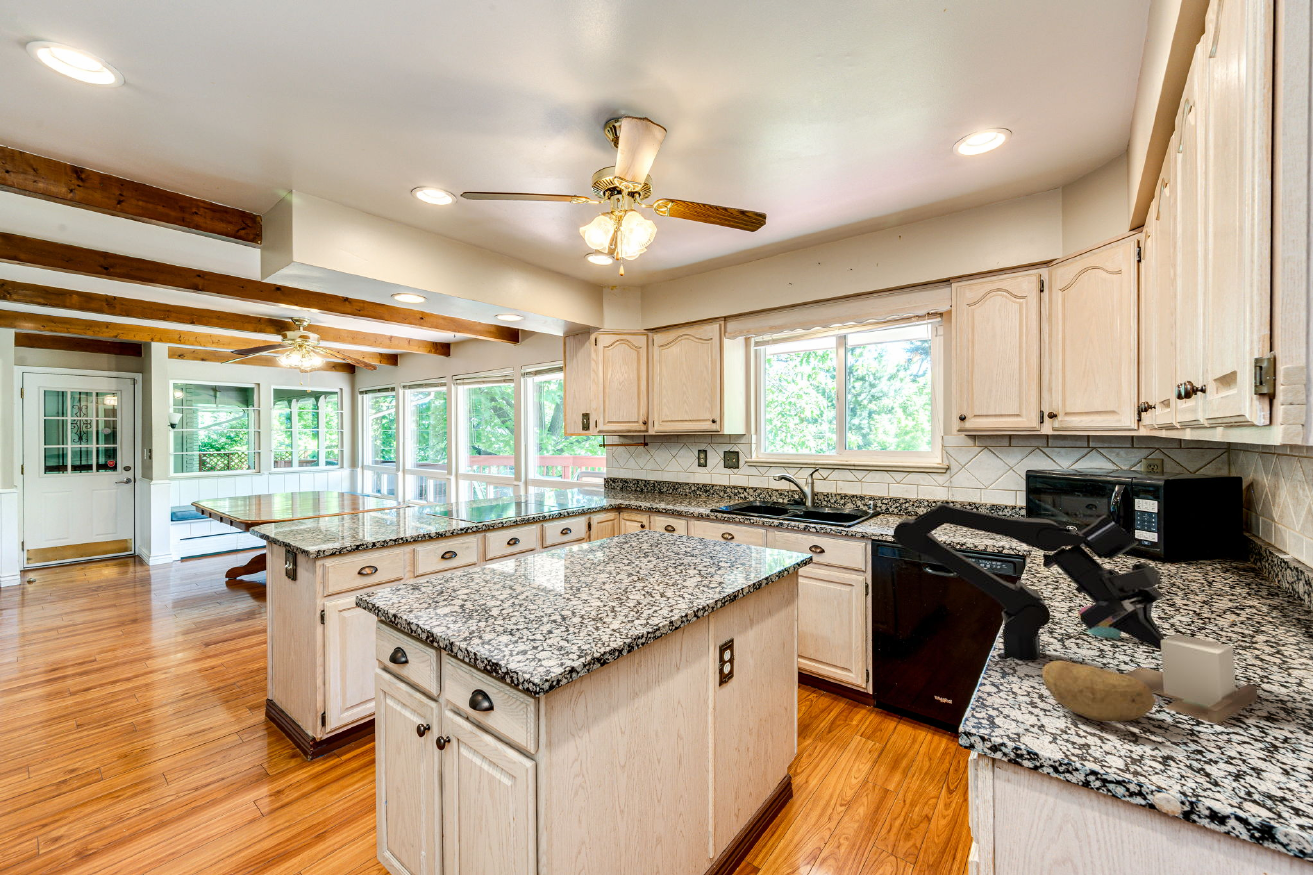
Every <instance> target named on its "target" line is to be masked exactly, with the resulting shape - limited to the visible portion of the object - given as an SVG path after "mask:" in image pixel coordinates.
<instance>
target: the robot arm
mask: <svg viewBox="0 0 1313 875" xmlns="http://www.w3.org/2000/svg"><path fill="white" fill-rule="evenodd" d="M947 524H948V525H953V526H958V527H961V528H966V529H971V530H972V529H973V530H976V531H980V532H985V533H989V534H993V535H994V534H995V535H999V536H1004V537H1008V538H1009V539H1013V540H1015V541H1018V542H1019V543H1022V544H1024V545H1027V546H1030V547H1032V548H1035V549H1037V550H1040V551H1043V552H1046V553H1043V554H1042V557H1043V561H1042V562H1043V563H1042V567H1044V568H1045V569H1047V570H1050V569H1051V568H1053V567H1055V566H1056V567H1057V568H1059V569H1060V570H1061V571H1062V572H1063V574H1065V575H1066V576H1067V577H1068V578H1069V579H1070V580H1071V581H1072V582H1073V583H1074V584H1075V585H1076V587H1075V588H1074V590H1075V592H1077V593H1078V594H1082V593H1084V594H1085V595H1086V596H1087V597H1088V598H1089V599H1090V600H1091V601H1092V602H1093V603H1094V604H1092V605H1093V606H1091V607H1090V608H1088V609H1087V610H1085V611H1084V612H1082V613H1081V614H1080V617H1081V620H1080V622H1081V623H1082V624H1083V625H1084V626H1085V627H1086V628H1088V629H1089V630H1091V629H1094V628H1097V627H1098V626H1099V624H1100V623H1102V622H1103V621H1105V620H1106V619H1108V618H1109V617H1112V618H1111V619H1112V620H1113V621H1114V622H1113V623H1111V624H1110V625H1108V627H1110V628H1114V629H1117V630H1119V631H1121V633H1124V634H1126V635H1128V636H1130V637H1133V638H1134V639H1137V640H1139V641H1140V642H1142V643H1145V644H1147V645H1149V646H1152V647H1154V648H1155V649H1158V650H1160V651H1161V640H1163V639H1165V638H1166V637H1164V635H1163V634H1162V632H1161V630H1160V628H1159V627H1158V626H1157V623H1156V622H1155V620H1154V619H1153V616H1152V611H1153V610H1152V608H1153V607H1154V603H1155V602H1157V601H1159V600H1160V599H1162V598H1163V597H1165V594H1164V593H1163V592H1161V591H1160V590H1159V589H1158V588H1157V587H1156V586H1158V585H1163V582H1162V581H1161V579H1160V577H1159V576H1160V574H1161V572H1160V570H1158V569H1155V567H1154V565H1152V566H1151V565H1149V564H1148V563H1146V562H1145V561H1144V562H1141V563H1137V564H1133V565H1131V570H1130V571H1128V572H1123V573H1119V572H1118V571H1117V570H1116V569H1112V568H1109V569H1107V568H1105V567H1104V566H1103V565H1102V564H1101V563H1100V562H1099V561H1097V560H1096V559H1095V558H1094V557H1093V556H1092V555H1091V554H1090V553H1088V552H1087V550H1086V549H1084V547H1086V548H1088V550H1090V551H1091V552H1092V554H1094V555H1095V556H1096V557H1097V558H1098V559H1100V560H1102V559H1103V558H1104V560H1107V559H1109V560H1110V561H1112V560H1113V559H1115V558H1117V557H1118V556H1119V555H1121V554H1123V553H1125V552H1126V551H1128V550H1129V549H1131V548H1133V547H1134V546H1136V545H1137V544H1139V541H1138V540H1137V539H1136V538H1135V537H1134V536H1133V535H1131V534H1130V532H1128V531H1127V530H1126V529H1124V528H1122V527H1120V526H1119V524H1118V523H1116V522H1114V521H1113V520H1112V519H1111V518H1109V517H1108V516H1107V515H1102V516H1100V517H1099V518H1097V519H1096V520H1095V522H1093V523H1092V524H1090V525H1089V526H1087V527H1086V528H1084V529H1082V530H1081V531H1079V530H1077V529H1074V528H1071V529H1070V528H1066V527H1061V526H1059V524H1057V523H1056V522H1054V521H1053V520H1051V519H1046V518H1033V517H1006V516H1002V515H997V514H993V513H987V512H982V511H977V510H974V509H973V510H972V509H969V508H968V509H967V508H963V507H958V506H953V505H951V504H948V503H939V504H937V505H936V506H934V507H933V508H932V509H930V510H928V511H926V512H924V513H922V514H920V515H918V516H916V517H915V518H904V519H902V520H900V521H899V522H898V524H897V525H896V526H895V527H894V530H893V538H894V540H895V542H896V544H898V545H899V546H900V547H902V548H905V549H906V550H909V551H911V552H913V553H915V554H918V555H922V556H925V557H928V558H930V559H932V560H934V561H935V562H937V563H938V564H940V565H942V566H943V567H945V568H947V569H948V570H949V571H951V572H952V573H954V574H956V575H957V576H958V577H961V578H962V579H964V580H965V581H967V582H968V583H970V584H972V585H973V586H974V587H976V588H978V589H979V590H981V591H983V592H984V593H986V594H988V595H989V596H990V597H992V598H994V599H995V600H996V602H998V603H999V604H1000V605H1001V606H1002V607H1003V608H1004V610H1003V611H1001V616H1002V621H1003V624H1004V626H1003V629H1002V637H1003V638H1002V640H1003V643H1002V644H1003V652H1000V653H997V654H996V656H997V657H998V658H1000V659H1003V660H1008V659H1013V660H1017V661H1020V662H1022V661H1027V662H1028V661H1029V662H1030V661H1031V662H1032V661H1038V660H1039V658H1040V656H1041V641H1040V640H1041V639H1040V633H1039V632H1040V629H1041V628H1043V627H1045V626H1046V625H1047V624H1048V623H1049V622H1050V620H1051V612H1050V610H1049V607H1048V605H1047V604H1046V602H1045V600H1044V598H1043V597H1042V596H1041V594H1040V592H1039V590H1037V589H1033V588H1030V587H1029V586H1027V585H1026V583H1024V582H1023V581H1021V580H1020V579H1017V581H1016V583H1015V584H1013V583H1011V582H1007V581H1005V580H1003V579H1001V578H1000V577H998V576H996V575H995V574H993V573H992V572H989V571H988V570H986V569H985V568H984V567H982V566H980V565H979V564H977V563H975V562H973V561H972V560H971V559H969V558H967V557H966V556H965V555H962V554H961V553H959V552H957V551H956V550H954V549H953V548H951V547H949V546H948V545H946V544H944V543H943V542H941V541H940V540H939V539H938V538H937V537H936V536H935V535H934V534H933V533H932V532H934V531H935V530H937V529H938V528H940V527H942V526H943V525H947ZM1065 547H1069V548H1067V549H1066V548H1065ZM1047 552H1050V553H1051V552H1053V553H1051V554H1047ZM1088 629H1087V630H1088Z"/></svg>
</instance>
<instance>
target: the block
mask: <svg viewBox="0 0 1313 875" xmlns="http://www.w3.org/2000/svg"><path fill="white" fill-rule="evenodd" d="M1164 638H1165V639H1163V640H1161V650H1160V653H1161V654H1160V655H1161V669H1162V672H1163V686H1164V694H1168V695H1171V696H1174V697H1178V698H1181V699H1184V700H1188V701H1191V702H1194V703H1198V704H1201V705H1204V706H1208V707H1210V706H1212V705H1214V704H1215V703H1217V702H1219V701H1220V700H1222V699H1224V698H1225V697H1227V696H1229V695H1230V694H1232V693H1234V692H1236V691H1237V689H1236V688H1237V687H1236V673H1235V672H1236V671H1235V657H1234V646H1233V645H1229V644H1226V643H1225V644H1224V643H1219V642H1216V641H1211V640H1206V639H1203V638H1197V637H1192V636H1188V635H1184V634H1179V633H1174V634H1172V635H1169V636H1167V637H1164Z"/></svg>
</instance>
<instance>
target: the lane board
mask: <svg viewBox="0 0 1313 875" xmlns="http://www.w3.org/2000/svg"><path fill="white" fill-rule="evenodd" d="M1123 674H1124V675H1128V676H1130V677H1132V678H1134V679H1137V680H1139V681H1141V682H1143V683H1145V684H1146V685H1147V686H1148V687H1149V688H1150V690H1151V693H1152V694H1153V693H1154V694H1156V695H1159V696H1163V697H1167V698H1169V699H1173V700H1174V701H1173V702H1171V703H1169V704H1167V705H1165V706H1164V707H1163V708H1164V709H1166V710H1170V711H1173V712H1175V713H1180V714H1183V715H1185V716H1189V717H1192V718H1195V719H1198V720H1201V721H1204V722H1207V723H1211V724H1214V725H1219V724H1220V723H1223V722H1225V721H1226V720H1227V719H1228V718H1230V717H1231V716H1234V715H1235V714H1236V713H1238V712H1240V711H1241V710H1243V709H1244V708H1246V707H1248V705H1250V704H1252V703H1254V702H1255V701H1257V700H1258V698H1259V697H1258V686H1257V685H1253V684H1249V683H1248V684H1246V685H1244V686H1242V687H1241V688H1239V689H1238V690H1237V689H1236V692H1234V693H1232V694H1230V695H1229V696H1227V697H1225V698H1224V699H1222V700H1220V701H1219V702H1217V703H1215V704H1214V705H1212V706H1210V707H1208V706H1204V705H1201V704H1198V703H1194V702H1191V701H1188V700H1184V699H1181V698H1178V697H1174V696H1171V695H1168V694H1164V686H1163V671H1158V670H1155V669H1151V668H1148V667H1144V666H1139V667H1136V668H1135V669H1131V670H1129V671H1128V672H1126V673H1123Z"/></svg>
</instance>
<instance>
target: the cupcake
mask: <svg viewBox="0 0 1313 875" xmlns="http://www.w3.org/2000/svg"><path fill="white" fill-rule="evenodd" d="M1093 605H1094V604H1090V605H1086V606H1084V607H1082V608H1080V609H1079V610H1078V612H1077V617H1078V619H1079V621H1081V617H1080V614H1081V613H1082V612H1084V611H1085V610H1087V609H1088V608H1090V607H1091V606H1093ZM1111 618H1112V617H1109V618H1108V619H1106V620H1105V621H1103V622H1102V623H1100V624H1099V626H1098V627H1097V628H1094V629H1091V630H1089V629H1088V628H1087V627H1086V628H1087V631H1088V633H1089V634H1091V635H1093V636H1097V637H1100V638H1107V639H1108V638H1109V639H1115V640H1120V635H1121V634H1122V632H1121V631H1119V630H1117V629H1114V628H1110V627H1108V625H1110V624H1111V623H1113V622H1114V621H1113V620H1112V619H1111Z"/></svg>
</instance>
